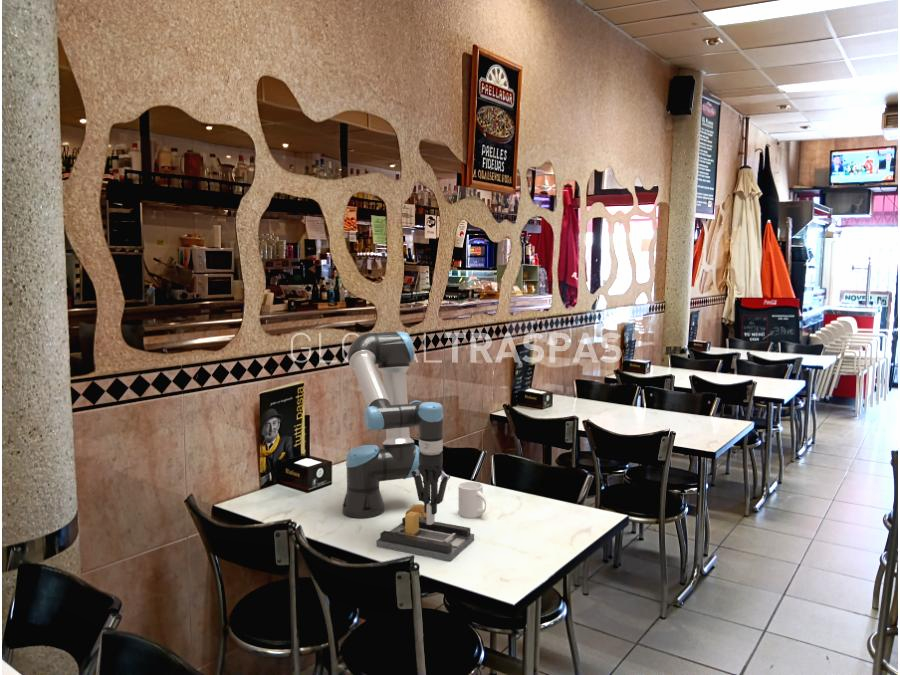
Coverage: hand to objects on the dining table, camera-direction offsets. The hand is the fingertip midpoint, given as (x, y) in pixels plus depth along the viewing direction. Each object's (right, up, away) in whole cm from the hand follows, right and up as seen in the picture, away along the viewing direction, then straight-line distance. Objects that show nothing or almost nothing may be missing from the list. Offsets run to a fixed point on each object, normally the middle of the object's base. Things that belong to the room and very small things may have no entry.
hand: (430, 523), depth 224 cm
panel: (-2, -7, +1) cm, 7 cm away
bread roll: (-4, -5, +19) cm, 20 cm away
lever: (-6, -4, +3) cm, 8 cm away
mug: (+15, -4, +25) cm, 30 cm away
